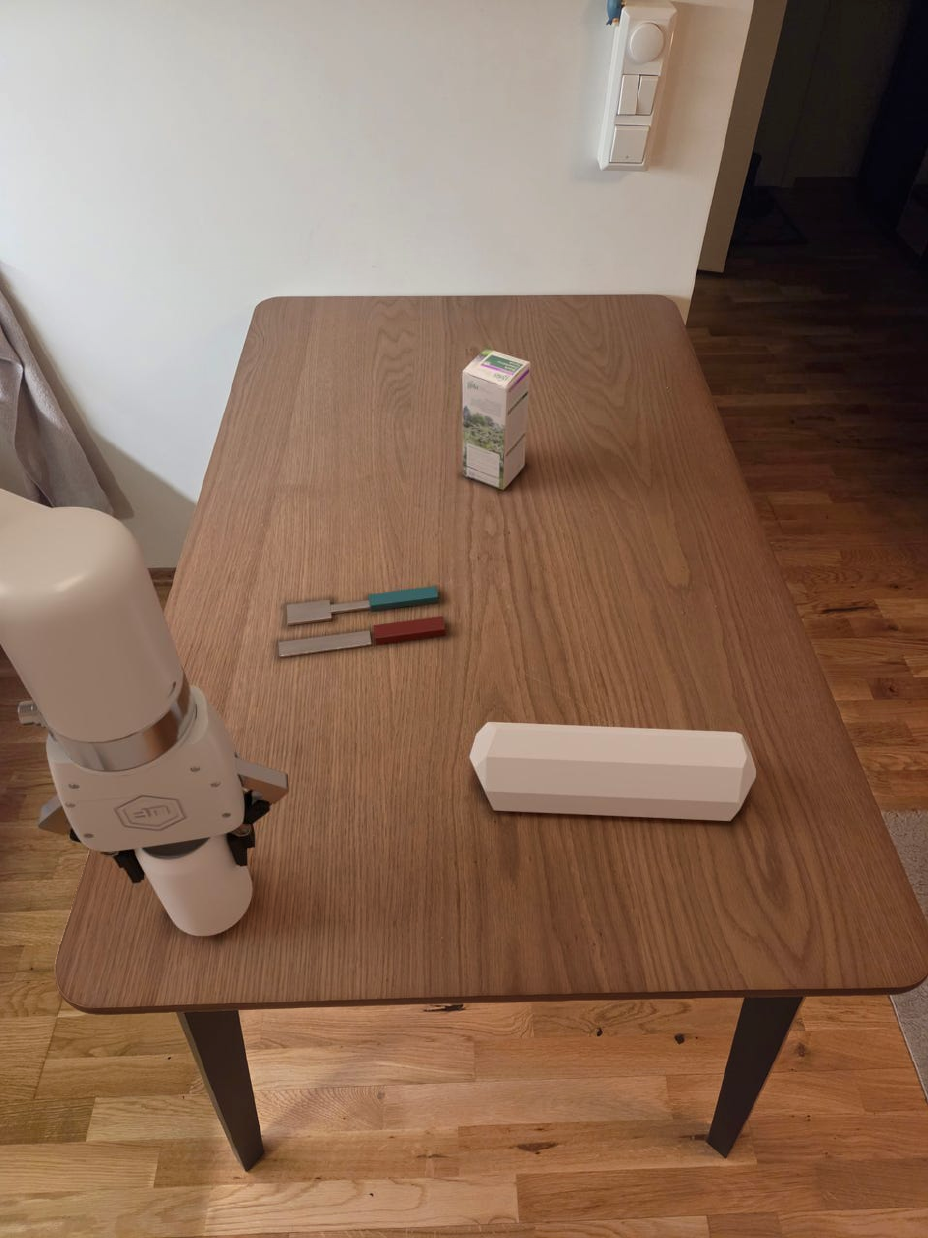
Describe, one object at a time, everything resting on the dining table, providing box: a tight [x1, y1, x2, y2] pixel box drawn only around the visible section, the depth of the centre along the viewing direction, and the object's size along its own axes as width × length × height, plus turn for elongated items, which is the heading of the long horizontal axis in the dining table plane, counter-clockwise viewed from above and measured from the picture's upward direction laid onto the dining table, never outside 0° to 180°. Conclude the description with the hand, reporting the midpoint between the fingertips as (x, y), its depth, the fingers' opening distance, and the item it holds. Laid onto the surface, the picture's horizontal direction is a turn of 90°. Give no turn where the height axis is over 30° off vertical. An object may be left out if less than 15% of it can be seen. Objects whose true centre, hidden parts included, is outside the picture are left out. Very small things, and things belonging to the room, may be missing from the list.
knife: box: [278, 615, 446, 658], centre depth 85 cm, size 16×2×1 cm, turn 100°
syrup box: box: [461, 348, 531, 491], centre depth 98 cm, size 6×6×14 cm
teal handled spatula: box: [286, 585, 439, 626], centre depth 88 cm, size 15×3×1 cm, turn 100°
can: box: [134, 833, 254, 937], centre depth 62 cm, size 6×6×12 cm
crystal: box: [468, 721, 757, 822], centre depth 73 cm, size 7×7×24 cm
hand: (191, 854), depth 61 cm, fingers closed on can, 6 cm apart
